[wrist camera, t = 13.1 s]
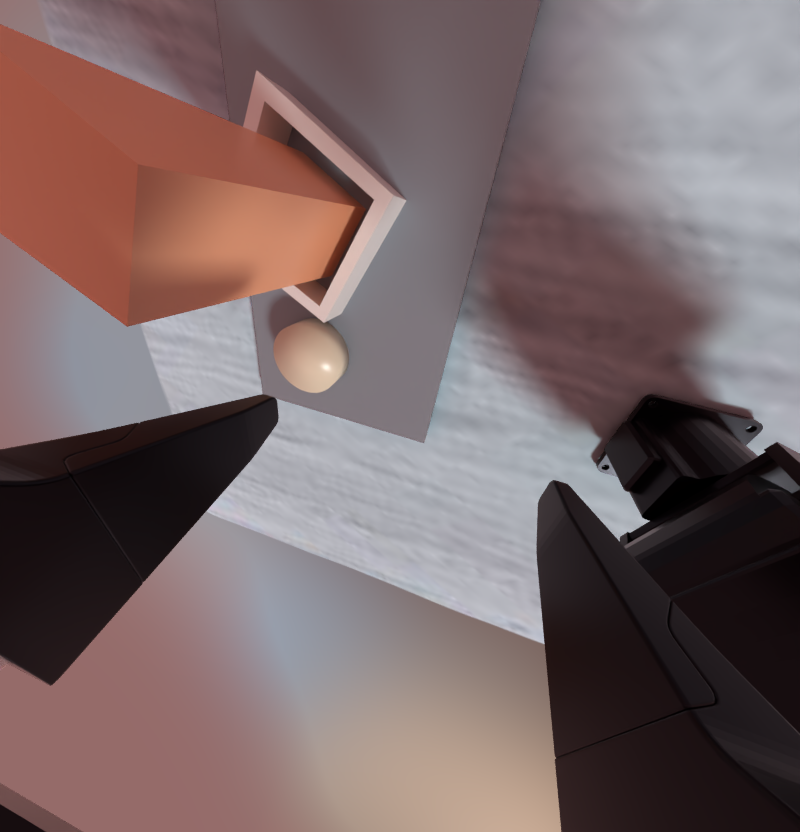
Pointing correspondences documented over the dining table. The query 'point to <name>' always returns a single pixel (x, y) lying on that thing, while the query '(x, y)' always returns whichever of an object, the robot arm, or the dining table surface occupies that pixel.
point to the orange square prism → (154, 191)
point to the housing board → (412, 139)
